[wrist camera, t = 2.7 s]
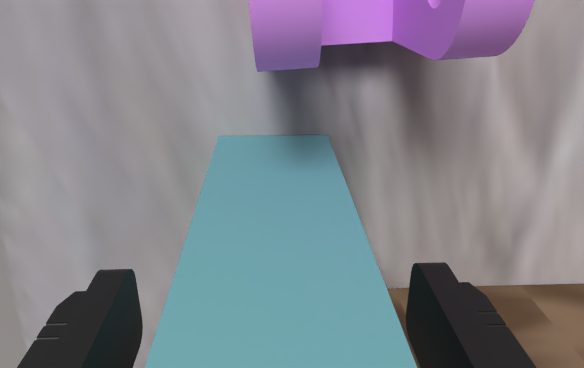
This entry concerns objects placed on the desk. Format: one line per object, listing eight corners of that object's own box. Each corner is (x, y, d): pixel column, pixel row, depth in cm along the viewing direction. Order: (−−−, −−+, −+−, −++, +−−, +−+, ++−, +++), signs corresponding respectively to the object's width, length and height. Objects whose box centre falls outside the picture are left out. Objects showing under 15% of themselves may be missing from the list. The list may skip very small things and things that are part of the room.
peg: (327, 135, 17) (435, 415, 6) (324, 229, 19) (404, 586, 8) (218, 135, 17) (125, 428, 6) (224, 231, 18) (160, 600, 7)
